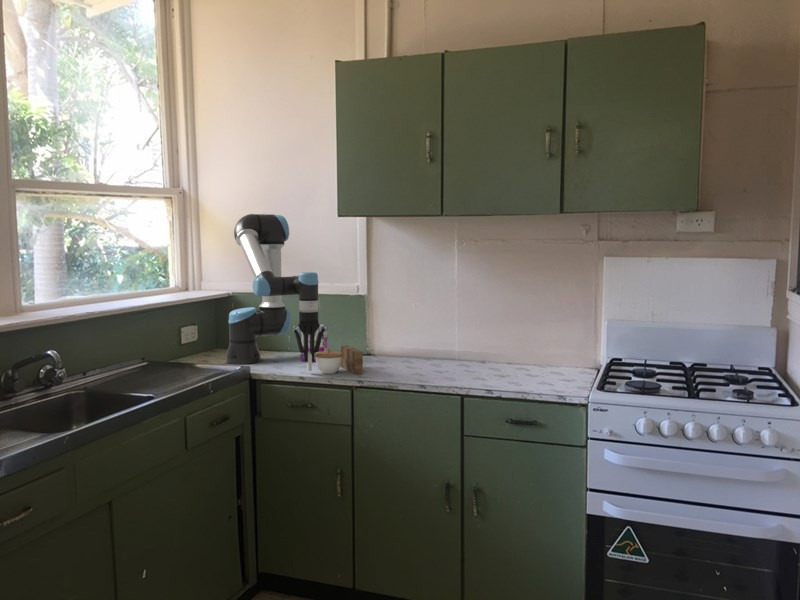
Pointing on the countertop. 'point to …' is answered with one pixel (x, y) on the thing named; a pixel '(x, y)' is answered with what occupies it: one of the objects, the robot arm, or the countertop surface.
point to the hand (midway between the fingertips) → (309, 369)
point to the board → (352, 359)
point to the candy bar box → (322, 345)
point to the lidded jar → (328, 361)
